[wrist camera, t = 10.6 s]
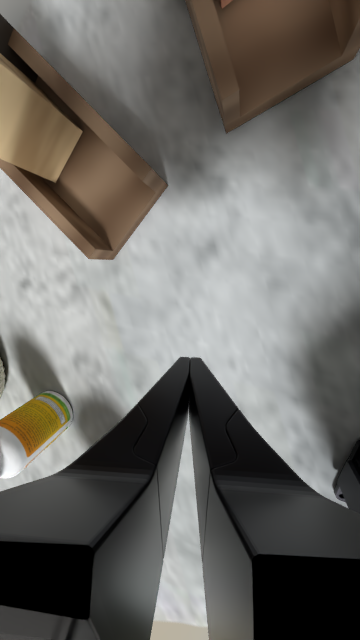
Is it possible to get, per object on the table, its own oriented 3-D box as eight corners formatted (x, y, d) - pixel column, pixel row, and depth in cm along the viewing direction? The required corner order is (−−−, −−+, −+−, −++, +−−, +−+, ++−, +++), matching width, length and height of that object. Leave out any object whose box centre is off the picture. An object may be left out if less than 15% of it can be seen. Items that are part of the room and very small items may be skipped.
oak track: (168, 185, 18) (141, 158, 13) (112, 259, 21) (75, 258, 16) (40, 55, 18) (-30, -16, 13) (3, 146, 21) (-66, 113, 16)
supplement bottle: (41, 382, 27) (-59, 441, 18) (78, 401, 26) (-8, 474, 17) (36, 415, 29) (-58, 484, 20) (70, 434, 28) (-12, 516, 19)
